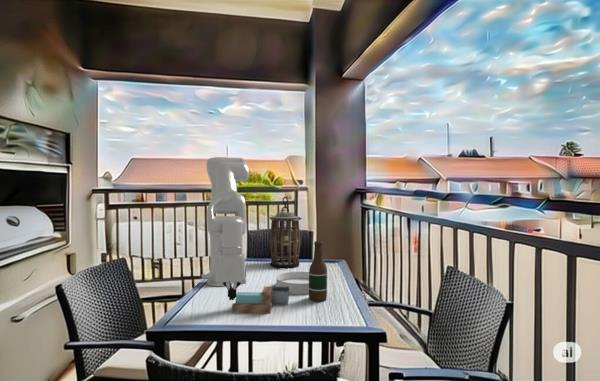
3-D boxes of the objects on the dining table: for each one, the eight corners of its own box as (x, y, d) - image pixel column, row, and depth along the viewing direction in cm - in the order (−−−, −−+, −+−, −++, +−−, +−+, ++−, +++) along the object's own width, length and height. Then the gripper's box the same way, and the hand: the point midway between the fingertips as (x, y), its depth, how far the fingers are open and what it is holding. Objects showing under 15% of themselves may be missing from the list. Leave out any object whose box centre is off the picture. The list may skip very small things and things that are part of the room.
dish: (292, 279, 188) (292, 269, 188) (332, 285, 177) (332, 275, 177) (266, 290, 169) (266, 279, 169) (308, 298, 158) (308, 286, 158)
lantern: (299, 261, 229) (299, 196, 228) (303, 268, 210) (304, 197, 209) (267, 262, 227) (267, 195, 226) (269, 269, 207) (269, 197, 207)
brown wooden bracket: (232, 312, 139) (232, 291, 139) (236, 305, 147) (236, 286, 146) (269, 313, 139) (270, 292, 138) (272, 306, 146) (272, 286, 146)
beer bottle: (321, 303, 150) (322, 243, 150) (305, 299, 155) (305, 241, 154) (330, 298, 157) (331, 241, 157) (314, 295, 161) (314, 239, 161)
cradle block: (267, 304, 148) (267, 292, 148) (269, 298, 156) (269, 286, 156) (287, 304, 148) (287, 292, 148) (289, 298, 156) (289, 286, 156)
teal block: (236, 305, 141) (236, 295, 141) (238, 302, 145) (238, 292, 145) (268, 306, 140) (268, 295, 140) (269, 302, 144) (269, 292, 144)
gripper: (209, 252, 139) (209, 301, 139) (250, 253, 138) (250, 302, 139) (215, 248, 146) (215, 295, 147) (253, 249, 146) (253, 296, 146)
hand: (232, 299), depth 143 cm, fingers closed
